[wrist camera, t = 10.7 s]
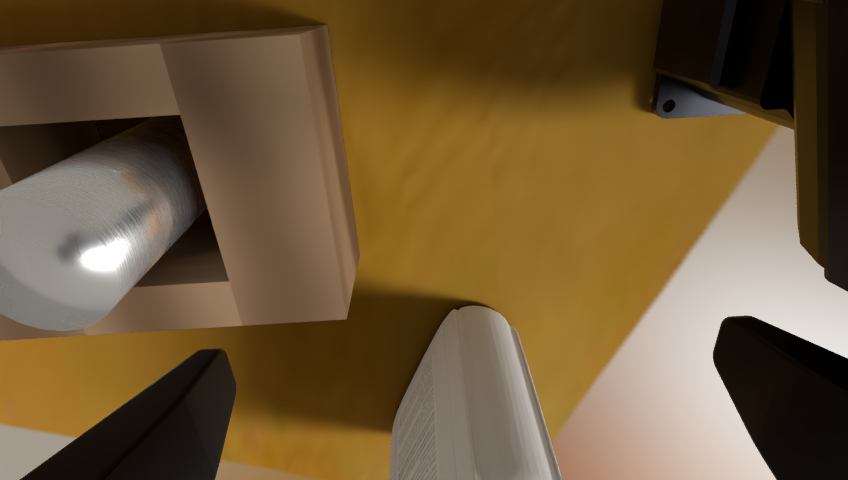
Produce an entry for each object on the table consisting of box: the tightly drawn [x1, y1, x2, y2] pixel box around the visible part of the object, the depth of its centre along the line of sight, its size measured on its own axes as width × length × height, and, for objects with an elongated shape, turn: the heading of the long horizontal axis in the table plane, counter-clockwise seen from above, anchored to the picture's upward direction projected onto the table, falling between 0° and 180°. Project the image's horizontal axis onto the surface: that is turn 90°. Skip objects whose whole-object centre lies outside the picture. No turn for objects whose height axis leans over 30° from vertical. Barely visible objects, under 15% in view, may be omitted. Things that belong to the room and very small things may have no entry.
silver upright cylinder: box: [0, 115, 207, 331], centre depth 16 cm, size 4×4×9 cm
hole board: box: [0, 25, 360, 341], centre depth 18 cm, size 14×10×5 cm
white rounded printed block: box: [390, 306, 562, 480], centre depth 21 cm, size 10×4×12 cm, turn 159°
